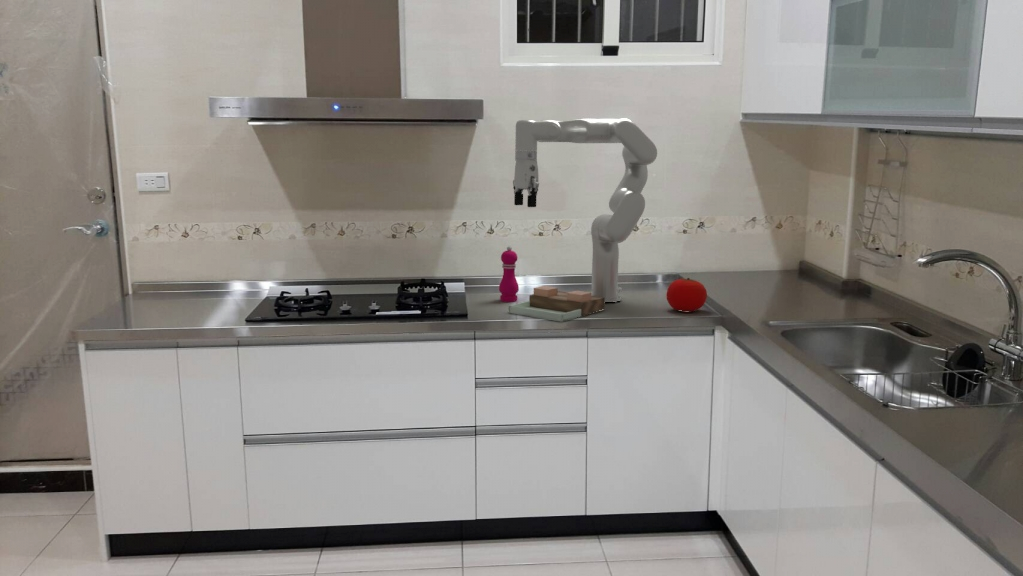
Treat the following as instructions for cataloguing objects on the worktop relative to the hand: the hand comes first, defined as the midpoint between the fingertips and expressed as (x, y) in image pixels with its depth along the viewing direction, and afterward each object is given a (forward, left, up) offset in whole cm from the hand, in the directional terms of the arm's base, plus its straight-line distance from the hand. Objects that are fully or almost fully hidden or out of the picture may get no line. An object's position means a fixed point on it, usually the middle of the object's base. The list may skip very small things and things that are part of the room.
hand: (525, 206), depth 280 cm
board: (-3, +16, -35) cm, 39 cm away
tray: (+10, +16, -35) cm, 40 cm away
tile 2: (0, +23, -31) cm, 38 cm away
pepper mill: (-2, -9, -35) cm, 36 cm away
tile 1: (0, +9, -31) cm, 32 cm away
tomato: (-28, +49, -35) cm, 67 cm away
